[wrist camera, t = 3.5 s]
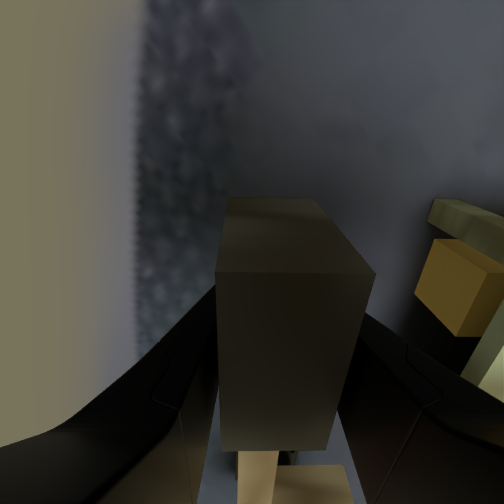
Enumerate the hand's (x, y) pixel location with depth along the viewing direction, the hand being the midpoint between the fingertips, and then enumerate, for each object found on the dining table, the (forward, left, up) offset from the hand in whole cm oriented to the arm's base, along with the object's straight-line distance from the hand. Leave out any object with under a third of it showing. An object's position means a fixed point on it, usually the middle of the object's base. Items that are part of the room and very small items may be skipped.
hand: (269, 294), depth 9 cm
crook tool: (-7, -2, -2) cm, 8 cm away
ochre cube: (-4, -14, -9) cm, 17 cm away
